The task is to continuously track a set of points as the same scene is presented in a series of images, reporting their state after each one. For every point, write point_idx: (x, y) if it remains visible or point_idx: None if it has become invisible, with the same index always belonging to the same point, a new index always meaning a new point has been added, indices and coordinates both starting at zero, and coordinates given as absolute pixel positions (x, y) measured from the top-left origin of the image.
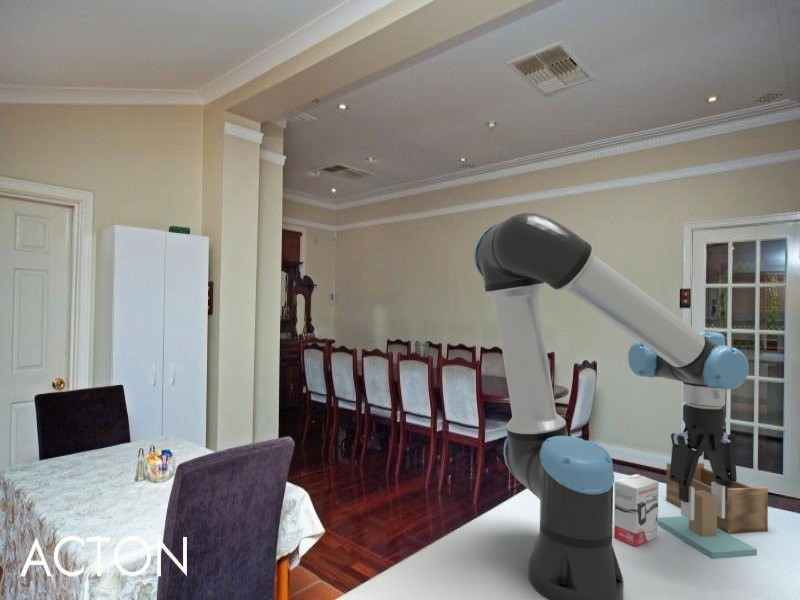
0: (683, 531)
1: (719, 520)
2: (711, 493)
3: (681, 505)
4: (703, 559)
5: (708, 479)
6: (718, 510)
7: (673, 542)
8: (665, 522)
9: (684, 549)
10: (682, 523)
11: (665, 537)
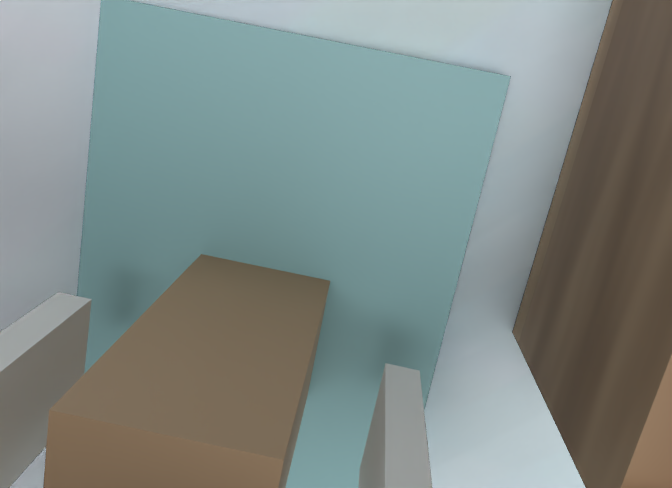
0: (127, 266)
1: (549, 286)
2: (386, 482)
3: (8, 331)
4: (18, 482)
5: None
6: (364, 471)
7: (7, 285)
8: (120, 97)
9: None
10: (247, 161)
11: (9, 214)
